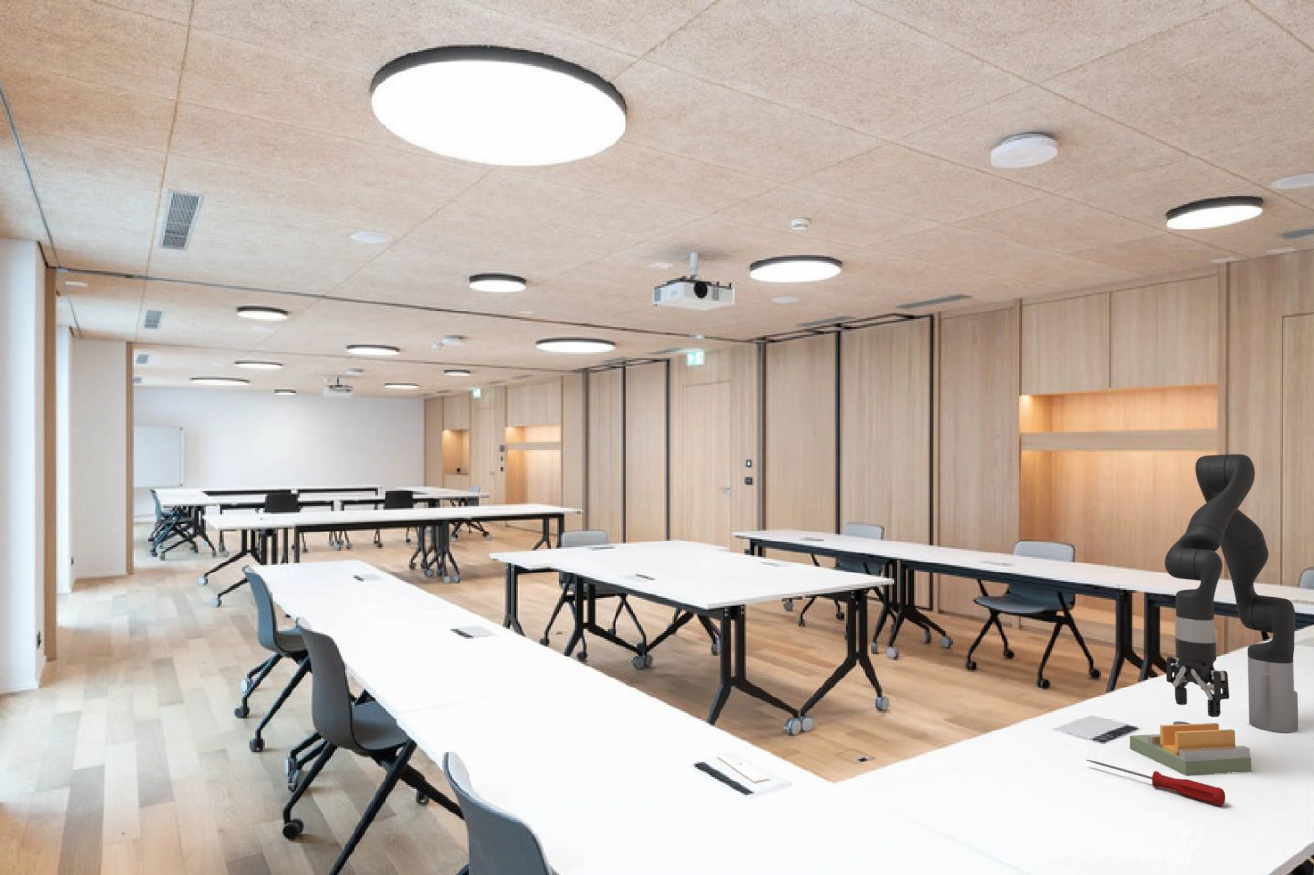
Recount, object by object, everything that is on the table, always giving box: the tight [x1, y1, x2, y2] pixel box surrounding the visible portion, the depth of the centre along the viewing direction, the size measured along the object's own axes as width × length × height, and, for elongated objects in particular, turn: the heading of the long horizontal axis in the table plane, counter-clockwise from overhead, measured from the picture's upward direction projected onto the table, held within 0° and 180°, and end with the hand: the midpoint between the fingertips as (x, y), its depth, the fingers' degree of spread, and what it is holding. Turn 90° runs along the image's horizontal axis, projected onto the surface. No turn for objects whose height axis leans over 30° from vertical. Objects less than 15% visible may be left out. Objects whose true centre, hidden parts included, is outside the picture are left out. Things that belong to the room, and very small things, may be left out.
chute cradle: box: [1146, 733, 1251, 761], centre depth 171 cm, size 16×10×2 cm, turn 98°
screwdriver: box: [1086, 759, 1226, 807], centre depth 159 cm, size 4×25×4 cm, turn 40°
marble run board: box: [1129, 720, 1252, 777], centre depth 174 cm, size 16×16×6 cm
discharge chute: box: [1159, 722, 1236, 756], centre depth 171 cm, size 14×5×5 cm, turn 97°
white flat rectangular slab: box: [717, 754, 772, 784], centre depth 167 cm, size 5×15×1 cm, turn 25°
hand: (1197, 710), depth 172 cm, fingers open, 8 cm apart
